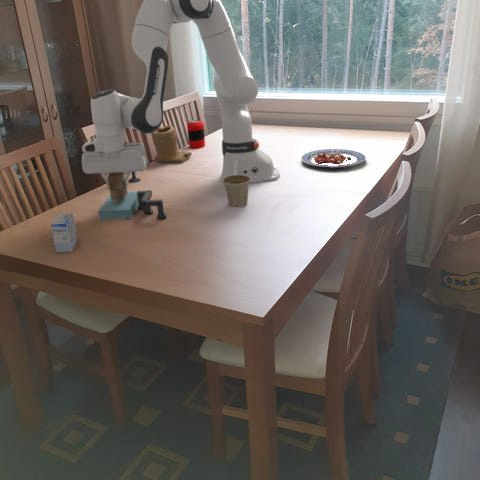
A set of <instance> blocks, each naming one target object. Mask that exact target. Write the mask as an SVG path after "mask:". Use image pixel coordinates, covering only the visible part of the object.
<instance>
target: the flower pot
mask: <svg viewBox="0 0 480 480" xmlns="http://www.w3.org/2000/svg"><path fill="white" fill-rule="evenodd" d="M250 180H251V178H250V177H249V176H246V175H231V176H227V177H225V178H223V179H222V178H221V182H222V184H223V186H224V188H225V193H226V197H227V202H228V206H230V207H234V208H240V207H244V206H245V205H247V204H248V198H249V188H250V187H249V186H250V184H251V182H250Z"/></svg>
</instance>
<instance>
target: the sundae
mask: <svg viewBox="0 0 480 480" xmlns="http://www.w3.org/2000/svg"><path fill="white" fill-rule="evenodd" d="M141 180H142V179H141V178H140V177H137V176H136V172H131V178H130V179H129V178H128V182H129V183H138V182H140V181H141Z"/></svg>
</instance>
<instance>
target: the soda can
mask: <svg viewBox="0 0 480 480" xmlns="http://www.w3.org/2000/svg"><path fill="white" fill-rule="evenodd" d="M186 126H187V136H188V137H187V138H188V147H189V148H190V149H195V150H196V149H198V148H199V149H203V148H205V147H206V139H205V127H204V122H203V121H202V120H199V119H192V120H189V121H188V123H187V125H186ZM204 146H205V147H204Z"/></svg>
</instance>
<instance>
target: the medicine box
mask: <svg viewBox="0 0 480 480" xmlns="http://www.w3.org/2000/svg"><path fill="white" fill-rule="evenodd" d="M75 223H76V222H75V218H74V214H73V213H61V214H57V215H56V217H55V219H54V220H53V222H52V223H51V225H50V227H51V232H52V236H53V241H54V246H55V251H56V253H57V252H63V253H72V252H73V251H74V248H75V246H76V244H77V242H78V240H79V239H78V233H77V227H76V224H75Z"/></svg>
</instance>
